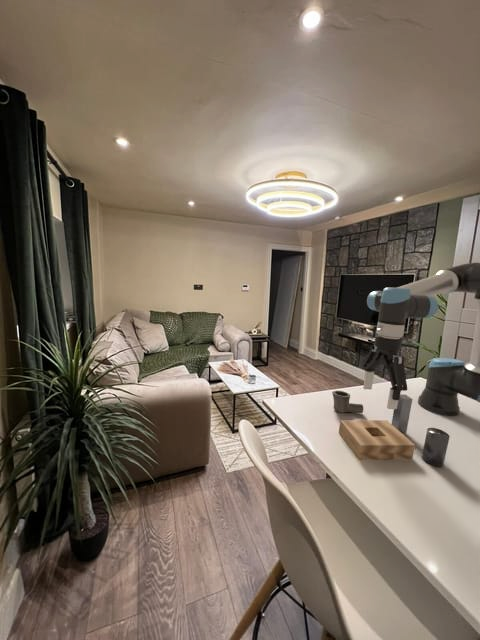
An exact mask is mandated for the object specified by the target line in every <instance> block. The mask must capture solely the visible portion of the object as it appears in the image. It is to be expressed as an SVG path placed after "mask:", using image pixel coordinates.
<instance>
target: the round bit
mask: <svg viewBox="0 0 480 640" xmlns="http://www.w3.org/2000/svg"><path fill="white" fill-rule="evenodd" d="M450 438H451V436H450V435H449V433H447V432H446V431H444V430H442V429H440V428H436V427H428V428H427V429H426V434H425V439H424V444H423V449H422V454H421V459H422V461H423V462H425V464H427V465H429V466H431V467H434V468H438V469H439V468H441V469H442V468H443V467H444V466H445V465H444V463H445V461H446V460H445V459H446V455H447V450H448V445H449V441H450Z"/></svg>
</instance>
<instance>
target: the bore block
mask: <svg viewBox="0 0 480 640" xmlns="http://www.w3.org/2000/svg"><path fill="white" fill-rule="evenodd" d="M338 434H339V435H340V436H341V438H342V439H343V441H344V442H345V443H346V444H347V446H348V447H349V448H350V450H351V451H352V453H353V454H354V456H356V458H357V459H358V460H360V461H361V460H372V461H373V460H413V459H414V458H413V457H414V454H415V448H416V444H414V443H413V441H411V440H410V439H409V438H407V436H405V434H402V433H401V432H400V431H399V430H397V429H396V428H395V427H394V426H393V425H392V422H390V421H389V420H385V419H384V420H382V419H381V420H378V419H377V420H375V419H373V420H371V419H370V420H368V419H366V420H365V419H359V420H358V419H356V420H355V419H353V420H352V419H351V420H348V419H345V420H344V419H342V420H341V419H340V421H339V429H338Z"/></svg>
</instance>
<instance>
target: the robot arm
mask: <svg viewBox="0 0 480 640" xmlns="http://www.w3.org/2000/svg"><path fill="white" fill-rule="evenodd" d="M454 292H456V293H470V294H474V297H473V298H474V300H475V301H476V302H478V308H477V312H476V313H477V314H476V321H475V325H474V326H475V328H474V333H473V340H472V347H471V351H470V352H471V353H470V358H469V359H470V360H469V362H467V363H465V361H464V360H459V359H455V358H449V357H434V358H431V360H430V362H429V365H428V371H427V376H426V381H425V387H424V389H423V390H422V392H421V394H420V395H419V396H418V399H417V404H418V405H419V406H420V407H421V408H423V409H424V410H428V411H429V412H432V413H434V414H438V415H441V416H446V417H456V416H459V414H460V411H461V410H460V409H461V408H460V406H459V399H458V394H459V395H462V396H463V397H466V398H468V399H471V400H473V401H475V402H478V403H480V262H468V263H463V264H460V265H456V266H453V267H448V268H446V269H443V270H439V271H438V272H437V273H435V274H434V275H432V276H429V277H425V278H423V279H419V280H416V281H413V282H409V283H408V284H404V285H401V286H398V287H390V286H389V287H385V288H383V290H374V291H372V292H370V293H369V294H368V296H367V299H366V304H367V305H366V306H367V307H368V308H369V309H370V310H371V311H376V312H378V319H377V325H376V331H375V334H376V335H375V336H374V343H373V344H372V345H370V348H369V351H368V353H367V355H366V356H365V359H364V361H363V362H362V368H364V371H365V372H364V373H365V374H364V380H363V381H364V382H363V388H362V389H363V390H372V388H373V383H374V377H375V372H374V371H375V369H376V368H377V367H378V366H379V365H380V364H382V365H383V366H384V368H385V369H386V370H387V373H388V377H389V378H388V379H389V381H390V384H391V387H390V388H389V393H388V399H387V405H386V409H388V410H394V409H397V405H398V400H399V398H400V394H402V392H406V391H408V385H407V377H406V370H405V357H404V356H398V355H397V354H398V351H400V350H401V349H402V343H403V339H402V338H403V337H404V334H405V333H404V332H405V326H406V322H407V321H406V320H407V319H422V320H423V319H428V318H432V317H433V316H435V315H436V314H437V313H438V310H439V302H438V301H437V299H436V298H435V297H434V296H437V295H441V294H451V293H454Z"/></svg>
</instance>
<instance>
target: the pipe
mask: <svg viewBox="0 0 480 640" xmlns="http://www.w3.org/2000/svg"><path fill="white" fill-rule="evenodd" d="M331 394H332V398H333V409H334V411H335V412H337V413H342V414H343V413H354V414H363V413H364V405H363V404H362V403H352V402H350V398H351V394H350V393H348V392H346V391H343V390H333V391H331Z"/></svg>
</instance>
